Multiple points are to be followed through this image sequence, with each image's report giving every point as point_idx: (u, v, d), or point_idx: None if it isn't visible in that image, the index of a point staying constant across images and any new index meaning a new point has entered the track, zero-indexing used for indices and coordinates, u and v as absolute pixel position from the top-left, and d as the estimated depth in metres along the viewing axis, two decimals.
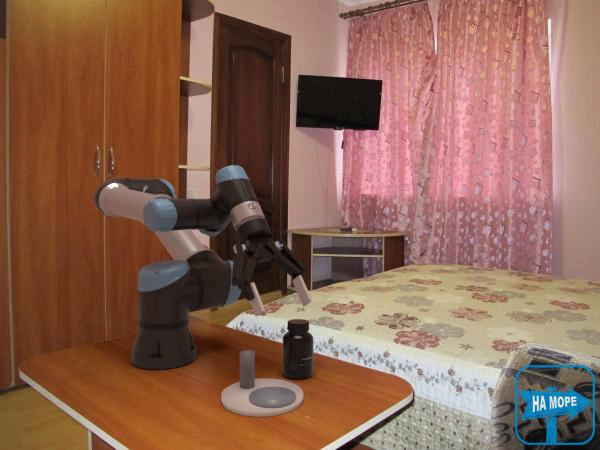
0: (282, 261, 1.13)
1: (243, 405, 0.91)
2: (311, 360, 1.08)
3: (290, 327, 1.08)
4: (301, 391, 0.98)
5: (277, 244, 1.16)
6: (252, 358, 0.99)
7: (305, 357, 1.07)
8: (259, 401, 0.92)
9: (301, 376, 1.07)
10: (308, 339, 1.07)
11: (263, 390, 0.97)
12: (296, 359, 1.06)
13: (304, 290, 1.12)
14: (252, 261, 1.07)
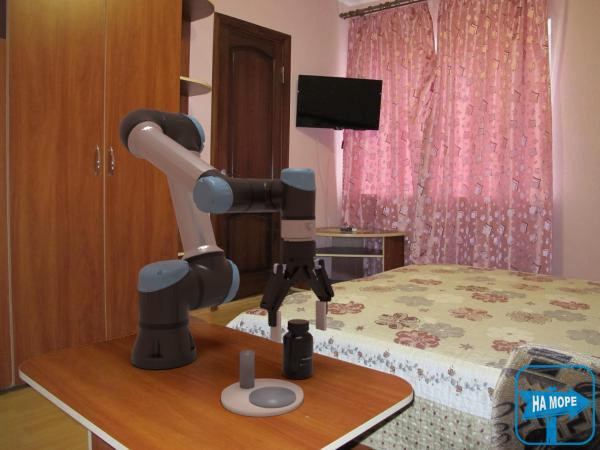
0: (314, 285, 1.11)
1: (243, 405, 0.91)
2: (311, 360, 1.08)
3: (290, 327, 1.08)
4: (301, 391, 0.98)
5: (316, 263, 1.12)
6: (252, 358, 0.99)
7: (305, 357, 1.07)
8: (259, 401, 0.92)
9: (301, 376, 1.07)
10: (308, 339, 1.07)
11: (263, 390, 0.97)
12: (296, 359, 1.06)
13: (323, 318, 1.13)
14: (287, 287, 1.05)
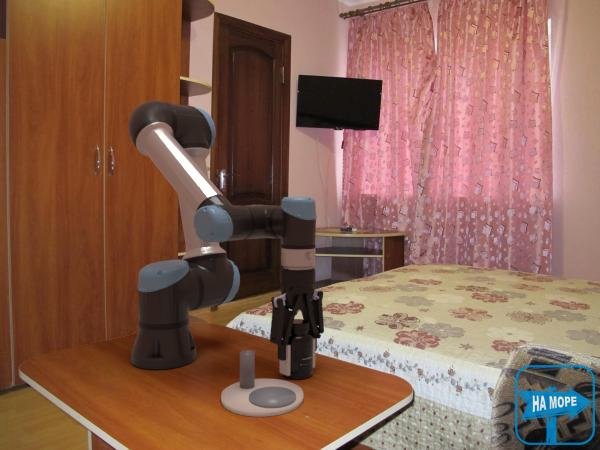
0: (308, 316, 1.10)
1: (243, 405, 0.91)
2: (311, 360, 1.08)
3: None
4: (301, 391, 0.98)
5: (315, 293, 1.12)
6: (252, 358, 0.99)
7: (305, 357, 1.07)
8: (259, 401, 0.92)
9: (301, 376, 1.07)
10: (308, 339, 1.07)
11: (263, 390, 0.97)
12: (296, 359, 1.06)
13: None
14: (290, 319, 1.06)
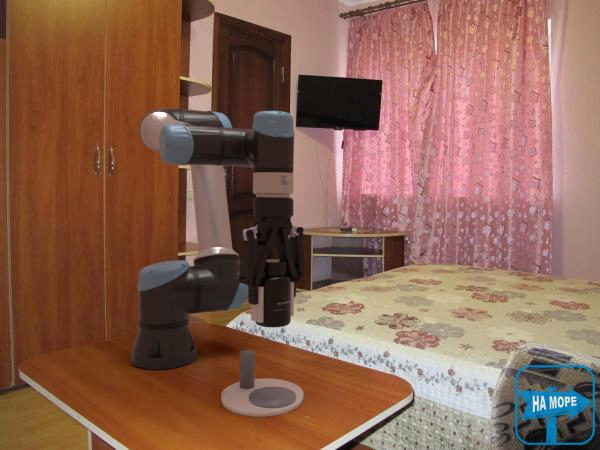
0: (285, 255, 0.94)
1: (243, 405, 0.91)
2: (288, 306, 0.92)
3: None
4: (301, 391, 0.98)
5: (293, 230, 0.96)
6: (252, 358, 0.99)
7: (280, 301, 0.90)
8: (259, 401, 0.92)
9: (276, 324, 0.90)
10: (285, 280, 0.91)
11: (263, 390, 0.97)
12: (271, 303, 0.90)
13: None
14: (263, 255, 0.90)
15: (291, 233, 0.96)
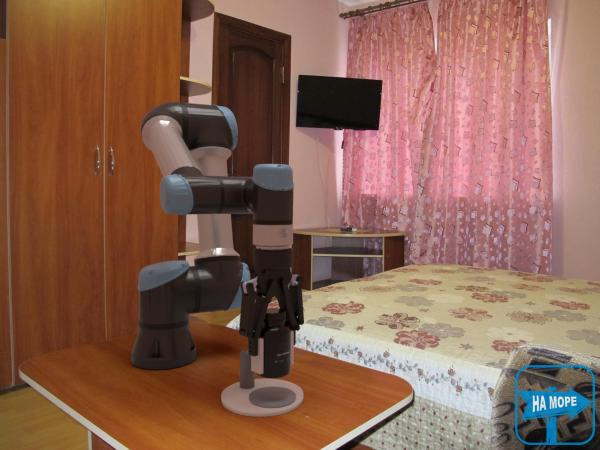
0: (285, 304, 0.94)
1: (243, 405, 0.91)
2: (288, 356, 0.92)
3: None
4: (301, 391, 0.98)
5: (293, 278, 0.96)
6: None
7: (280, 352, 0.91)
8: (259, 401, 0.92)
9: (276, 375, 0.91)
10: (284, 331, 0.91)
11: (263, 390, 0.97)
12: (271, 354, 0.90)
13: None
14: (263, 307, 0.90)
15: (291, 282, 0.96)
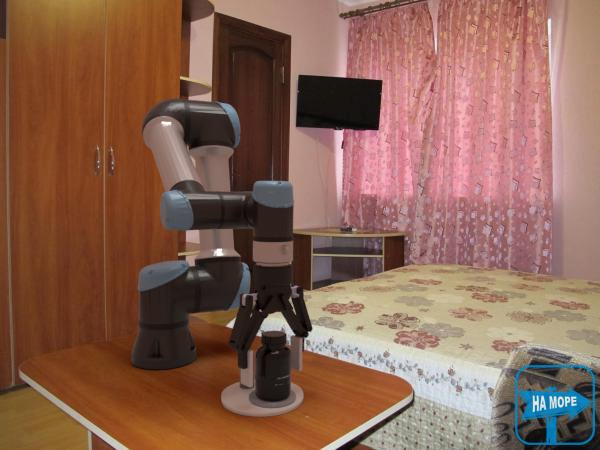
0: (289, 317, 0.95)
1: (243, 405, 0.91)
2: (288, 379, 0.93)
3: (264, 341, 0.92)
4: (301, 391, 0.98)
5: (294, 291, 0.96)
6: None
7: (281, 375, 0.91)
8: (259, 401, 0.92)
9: (276, 398, 0.91)
10: (285, 354, 0.92)
11: None
12: (271, 378, 0.91)
13: (298, 356, 0.97)
14: (258, 321, 0.90)
15: (292, 295, 0.97)
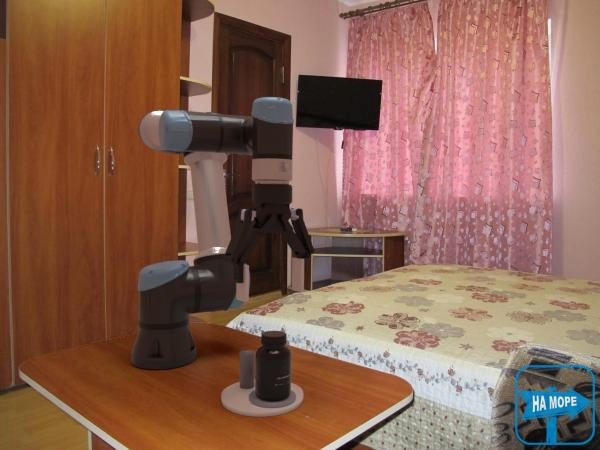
0: (290, 238, 0.95)
1: (243, 405, 0.91)
2: (288, 379, 0.93)
3: (264, 341, 0.93)
4: (301, 391, 0.98)
5: (293, 213, 0.96)
6: (252, 358, 0.99)
7: (281, 375, 0.91)
8: (259, 401, 0.92)
9: (276, 398, 0.91)
10: (285, 354, 0.92)
11: None
12: (271, 378, 0.91)
13: (300, 277, 0.97)
14: (256, 237, 0.89)
15: (291, 217, 0.96)
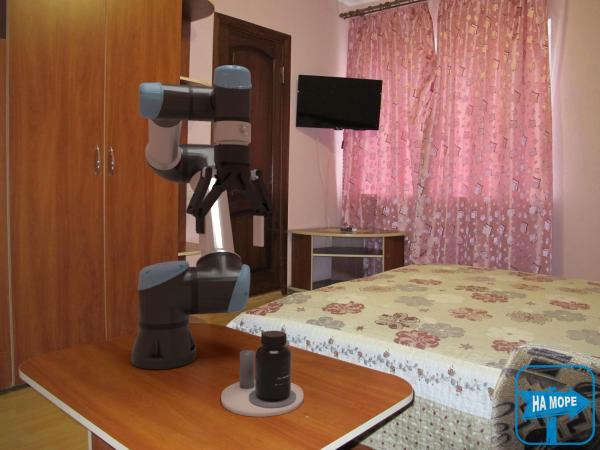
0: (250, 196, 1.04)
1: (243, 405, 0.91)
2: (288, 379, 0.93)
3: (264, 340, 0.93)
4: (301, 391, 0.98)
5: (253, 174, 1.05)
6: (252, 358, 0.99)
7: (281, 375, 0.91)
8: (259, 401, 0.92)
9: (276, 398, 0.91)
10: (285, 354, 0.92)
11: None
12: (271, 378, 0.91)
13: (260, 233, 1.06)
14: (217, 192, 0.98)
15: (252, 177, 1.05)
